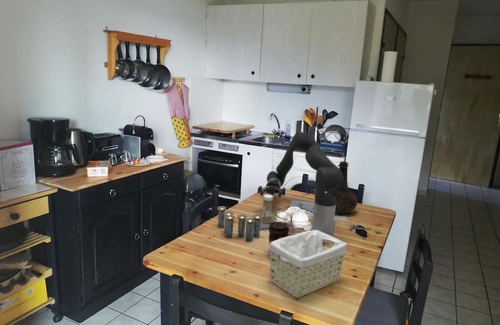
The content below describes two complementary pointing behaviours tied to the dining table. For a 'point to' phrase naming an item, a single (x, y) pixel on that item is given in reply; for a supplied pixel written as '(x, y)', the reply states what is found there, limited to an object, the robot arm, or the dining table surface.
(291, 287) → the storage basket
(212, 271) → the dining table surface
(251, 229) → the posts
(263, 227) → the rubber mat
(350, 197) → the glass bottle
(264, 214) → the sprinkles bottle
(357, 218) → the dining table surface
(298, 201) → the dining table surface
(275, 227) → the coffee cup
